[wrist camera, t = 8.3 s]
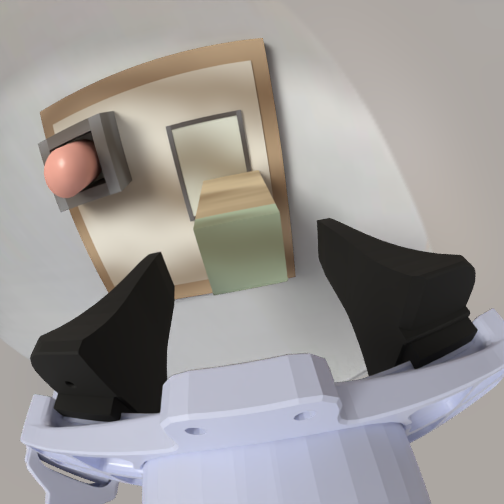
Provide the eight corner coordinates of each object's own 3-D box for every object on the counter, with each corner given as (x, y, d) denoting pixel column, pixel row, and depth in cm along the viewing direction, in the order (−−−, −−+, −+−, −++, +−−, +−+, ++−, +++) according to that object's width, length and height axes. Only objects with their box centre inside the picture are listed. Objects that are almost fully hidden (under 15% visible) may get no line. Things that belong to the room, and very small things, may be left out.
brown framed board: (293, 272, 23) (302, 295, 20) (119, 303, 23) (110, 327, 20) (261, 40, 13) (269, 28, 10) (44, 111, 13) (20, 116, 10)
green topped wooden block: (266, 219, 19) (287, 281, 13) (215, 229, 19) (213, 295, 13) (258, 170, 17) (279, 212, 11) (203, 180, 17) (193, 229, 11)
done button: (108, 176, 15) (91, 189, 13) (73, 189, 15) (54, 204, 13) (95, 132, 13) (76, 139, 11) (60, 148, 13) (38, 158, 11)
